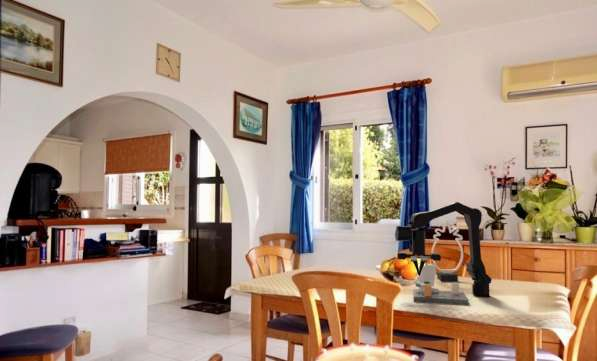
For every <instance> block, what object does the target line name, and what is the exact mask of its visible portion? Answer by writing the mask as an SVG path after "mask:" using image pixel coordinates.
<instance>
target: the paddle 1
mask: <svg viewBox="0 0 597 361" xmlns="http://www.w3.org/2000/svg"><path fill="white" fill-rule="evenodd" d="M431 286H432V285H431V284H424V296H430V297H432V294H431Z"/></svg>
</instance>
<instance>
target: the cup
mask: <svg viewBox="0 0 597 361" xmlns="http://www.w3.org/2000/svg"><path fill="white" fill-rule="evenodd" d="M419 268H420V266H419ZM436 270H437V269H436V266H435V265H434V263H425V266H423V268H422V271H421V274H420V276H418V279H417V282H420V283H423V284H424V281H429V282H430V284H431V285H432V286H434V287H435V279H436V274H437V271H436ZM418 290H424V288H420V287H418Z"/></svg>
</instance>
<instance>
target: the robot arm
mask: <svg viewBox="0 0 597 361" xmlns="http://www.w3.org/2000/svg"><path fill="white" fill-rule="evenodd" d="M455 212H456V213H457V214H459V215H462V216H463V218H464V221H465V224H466V227H467V231H468V242H469V244H468V246H469V257H470V259H469V260H468V261H469V262H468V261H467V262H466V263H465V265H466V272H467V273H468V276H469V277H471V280H472V281H473V283H472V286H471V287H472V289H471V290H472V291H471V292H472V294H473V295H474V297H482V298H491V295H490V284H491V283H492V278H491V277H490V276H489V275H488V274H487V271H486V266H485V264H484V262H483V259H482V253H481V252H482V250H481V239H480V235H481V234H480V227H481V226H480V225H481V224H482V219H483V218H482V217H483V214H482V211H481V210H480V209H479V208H475V207H473V208H472V207H470V206H467V205H465V204H463V203H461V202H459V201H453V202H451V203H449V204H445V205H442V206H440V207H437V208H435V209H432V210H430V211H429V210H428V211H421V212H417V213H416V212H415V213H413V214H412V215H411V217H410V221H409V222H408V223H407V224H406V226H404V225H403V226H402V225H396V228H395V232H394V238H395V241H397V242H407V241H408V242H409V241H410V240H411V239H412V241H411V243H412V244H409V245H408V251H409V253H407V251H398V253H397V260H406V259H410V262H412V263H413V265H414V268H415V271H416V270H417V272H416V274H417V273H418V275H419V276H420V274H421V271H422V268H423V266H424V264H426V263H428V260H429V259H430V260H432V259H433V260H434V261H435V262H436V261H437V262H438V261H439V262H440V261H441V259H442V258H441V257H442V256H441V254H440V253H439V252H434V253H431V252H430V254H427V253H426V232H430V231H431V229H429V228H428V227H427V224H429V223H430V222H432V221H433V220H435V219H438V218H440V217H443V216H446V215H448V214H451V213H455ZM418 259H420V260H419V263H418ZM433 260H432V261H433ZM418 264H420V268H418Z"/></svg>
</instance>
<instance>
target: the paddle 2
mask: <svg viewBox="0 0 597 361" xmlns="http://www.w3.org/2000/svg"><path fill="white" fill-rule="evenodd" d="M450 285H451V286H450V287H451V289H450V290H451V293H452V294H459V292H460V282H459V281H458V282H450Z"/></svg>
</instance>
